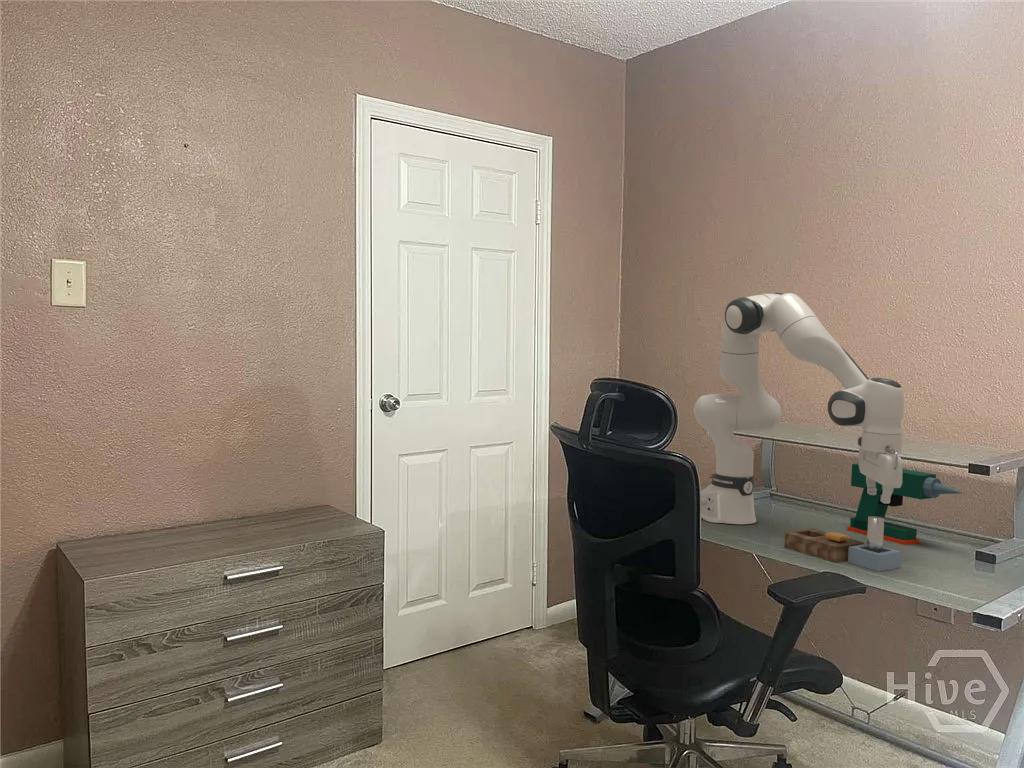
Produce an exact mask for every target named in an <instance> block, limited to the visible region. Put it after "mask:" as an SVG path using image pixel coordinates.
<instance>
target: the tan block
mask: <svg viewBox="0 0 1024 768" xmlns="http://www.w3.org/2000/svg"><path fill="white" fill-rule="evenodd" d="M825 538H828V539H830V541H833V542H836V543H842V542H844V541H848V540H849V538H850V535H848V534H845V533H841V532H836V531H832V532H831V531H830V532H827V533H825Z"/></svg>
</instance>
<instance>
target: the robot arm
mask: <svg viewBox="0 0 1024 768" xmlns="http://www.w3.org/2000/svg"><path fill="white" fill-rule="evenodd" d="M774 331H775V333H776V334H777V336H778V337H779V340H780V341H781V342H782V344H783V346H784V347H785V348H786V350H787V351H789V353H790V354H791V355H792V356H793V357H795V358H796V359H798V360H800V361H803V362H808V363H811V364H815V365H816V366H820V367H822V368H824V369H825V370H827V371H829V372H830V373H832V375H834V377H835V378H836V379H837V380H838V382H839V383H840V384H841V385H842V387H843V388H844V389H841V390H837V391H836V392H834V393H832V395H831V396H830V397H829V399H828V402H827V413H828V416H829V418H830V420H831V421H832V422H833V423H835V424H836V425H838V426H841V427H847V428H848V427H850V428H851V427H862V434H861V435H860V436H859V437H857V446H858V447H859V448H858V463H859V469H860V472H861V473H862V474H864V475H865V476H866V482H867V487H868V489H867V493H868V494H870V495H876V494H877V488H876V482H878V483H880V484H881V485H882V489H883V493H882V495H881V502H882V503H885V504H889V503H890V498H891V495H892V493H893V488H900V487H901V485H902V469H903V460H902V458H901V456H899V455H898V454H899V453H902V444H903V443H902V442H903V441H902V440H903V430H902V429H903V428H902V421H903V419H904V411H905V410H904V409H905V407H904V406H905V405H904V404H905V403H904V402H905V397H904V391H903V390H904V389H903V388H902V385H901V384H900V383H899V382H897V381H895V380H893V379H889V378H884V377H883V378H882V377H872V378H871V377H870V378H869V376H868V375H867V374H865V372H864V371H863V369H862V368H861V367H860V366H859V365H858V364H857V362H856V361H855V360H854V359H853V357H852V356H851V355H850V354H849V353H848V352H847V351H846V349H844V347H843V346H842V345H840V343H839V342H837V340H836V339H835V338H833V336H832V335H831V334H830V332H829V331H827V329H826V328H825V326H824V325H823V324H822V322H821V321H820V319H819V317H818V316H817V315H816V313H815V312H814V311H813V310H812V309H811V307H810V306H808V304H807V303H806V302H805V301H804V300H803V299H802V298H801V297H800V296H799V295H797V294H795V293H792V292H788V293H787V292H786V293H781V292H775V293H760V294H756V295H750V296H746V297H743V296H742V297H738V298H736V299H733V300H731V301H730V302H729V303H728V304H727V306H726V307H725V310H724V325H723V329H722V335H721V342H720V343H721V345H720V360H719V361H720V364H719V373H720V376H721V377H722V379H723V380H725V381H726V382H727V383H729V384H731V385H733V386H734V387H736V388H738V390H739V391H740V393H737V394H732V393H709V394H704V395H701V396H700V397H699V398H697V400H696V402H695V403H694V408H693V415H694V418H695V420H696V422H697V424H699V425H700V426H701V427H702V428H703V429H704V430H705V431H706V432H707V433H708V435H709V436H710V438H711V439H712V442H713V446H714V449H715V460H716V461H715V463H716V464H715V466H716V467H715V473H710V474H709V477H708V479H711V483H710V484H709V485H708V486H707V487H705V488H704V489H702V490H700V492H701V518H700V519H701V520H703V521H707V522H709V523H717V524H718V523H719V524H720V523H721V524H730V525H750V524H755V523H757V518H756V513H755V501H754V493H753V491H754V488H755V475H754V460H755V459H754V457H755V456H754V455H755V454H754V450H753V449H752V447H751V446H749V444H747V443H745V442H743V441H742V440H740V439H738V438H737V437H736V436H735V434H734V431H747V432H748V431H749V432H751V431H752V432H762V431H763V432H764V431H770V430H774V429H775V428H777V426H778V425H779V423H780V421H781V419H782V408H781V405H780V404H779V402H778V400H776V398H774V397H773V396H771V395H770V394H769V393H768V391H766V389H765V388H764V385H763V384H762V382H761V379H760V375H759V374H760V372H759V371H760V370H759V351H760V350H759V349H760V348H759V347H760V346H759V345H760V344H759V343H760V342H759V341H760V338H761V335H762V334H763V333H767V332H774ZM702 518H703V519H702Z"/></svg>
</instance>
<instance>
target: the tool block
mask: <svg viewBox="0 0 1024 768" xmlns="http://www.w3.org/2000/svg"><path fill="white" fill-rule="evenodd" d="M825 533H828V532H825V531H823V530H819V529H815V528H808V529H807V528H806V529H801V530H794V531H787V532H786V531H785V532H784V548H785V547H786V549H790V550H792V549H793V550H792V551H795V550H796V551H795V552H799V553H802V552H803V554H805V553H806V555H808V554H809V555H808V556H811V557H816V558H819V559H822V560H825V561H829V562H833V563H835V564H836V563H840V562H841V563H842V562H848V552H849V547H850V546H856V545H862V544H865V542H864V541H861V540H856V539H852V538H850V537H849V540H848V541H844V542H842V543H836V542H833V541H830V539H828V538H825Z"/></svg>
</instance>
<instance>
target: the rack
mask: <svg viewBox="0 0 1024 768" xmlns="http://www.w3.org/2000/svg"><path fill="white" fill-rule="evenodd" d="M902 554H903V553H902V550H897V549H893V548H890V547H886V546H883V552H881V553H876V552H873V551H869V550H867V543H864V544H862V545H856V546H850V547H849V552H848V561H847V563H849V564H852V565H854V566H859V567H863V568H865V569H869V570H872V571H876V572H879V573H880V572H883V571H884V572H885V571H889V570H894V569H898V568H902Z"/></svg>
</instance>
